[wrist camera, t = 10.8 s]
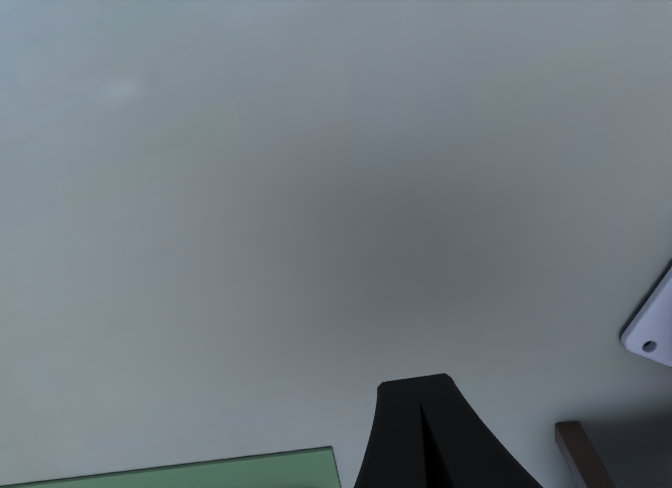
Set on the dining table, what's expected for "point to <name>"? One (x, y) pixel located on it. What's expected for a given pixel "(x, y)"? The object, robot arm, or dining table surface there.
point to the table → (581, 457)
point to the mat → (221, 474)
